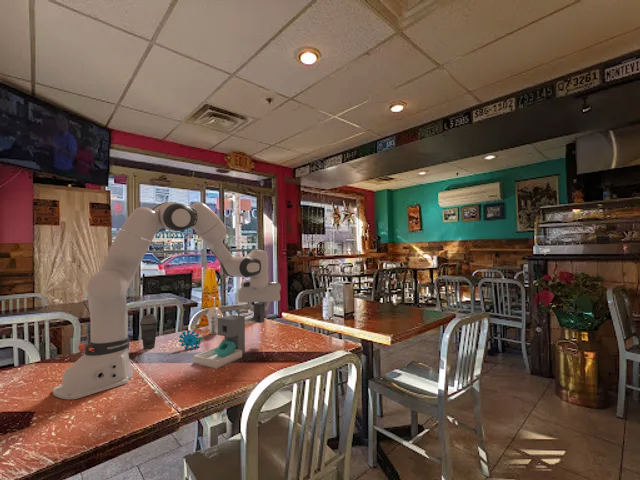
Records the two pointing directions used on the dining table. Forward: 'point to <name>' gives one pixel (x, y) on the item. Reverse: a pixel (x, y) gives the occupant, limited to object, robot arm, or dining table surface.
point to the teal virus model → (190, 339)
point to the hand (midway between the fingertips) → (259, 310)
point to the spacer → (225, 348)
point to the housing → (233, 330)
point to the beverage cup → (148, 330)
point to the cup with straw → (213, 318)
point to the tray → (216, 358)
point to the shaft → (257, 314)
